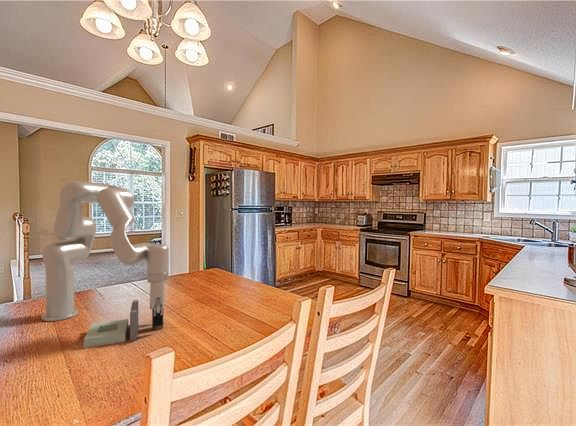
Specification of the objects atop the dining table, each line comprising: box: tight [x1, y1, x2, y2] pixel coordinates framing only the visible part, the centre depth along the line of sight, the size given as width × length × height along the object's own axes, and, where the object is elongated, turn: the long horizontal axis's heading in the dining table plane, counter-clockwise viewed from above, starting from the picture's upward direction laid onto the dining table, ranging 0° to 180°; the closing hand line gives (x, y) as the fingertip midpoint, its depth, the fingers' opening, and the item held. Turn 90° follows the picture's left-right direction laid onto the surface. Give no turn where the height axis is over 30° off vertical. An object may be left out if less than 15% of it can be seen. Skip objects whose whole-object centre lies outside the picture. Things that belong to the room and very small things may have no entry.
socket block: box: [83, 318, 129, 349], centre depth 106 cm, size 14×12×3 cm
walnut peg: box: [151, 306, 165, 331], centre depth 114 cm, size 4×4×10 cm
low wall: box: [129, 299, 139, 342], centre depth 110 cm, size 14×2×10 cm, turn 24°
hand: (157, 320), depth 114 cm, fingers open, 9 cm apart
